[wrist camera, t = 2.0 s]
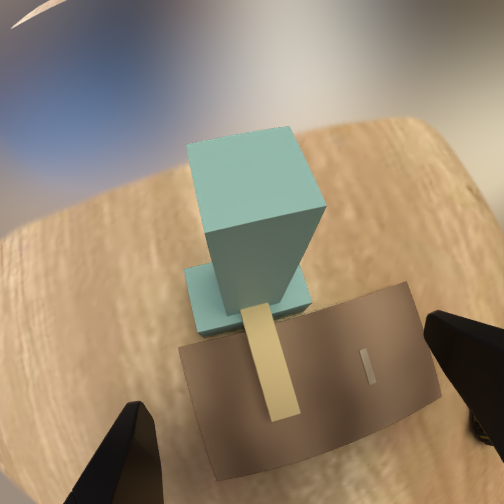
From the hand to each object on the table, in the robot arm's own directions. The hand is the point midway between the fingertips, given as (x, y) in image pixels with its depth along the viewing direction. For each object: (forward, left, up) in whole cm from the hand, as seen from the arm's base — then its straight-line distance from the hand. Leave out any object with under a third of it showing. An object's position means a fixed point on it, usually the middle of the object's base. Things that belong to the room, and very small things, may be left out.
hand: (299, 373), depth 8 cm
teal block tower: (+1, +2, -12) cm, 12 cm away
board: (+2, -3, -12) cm, 13 cm away
